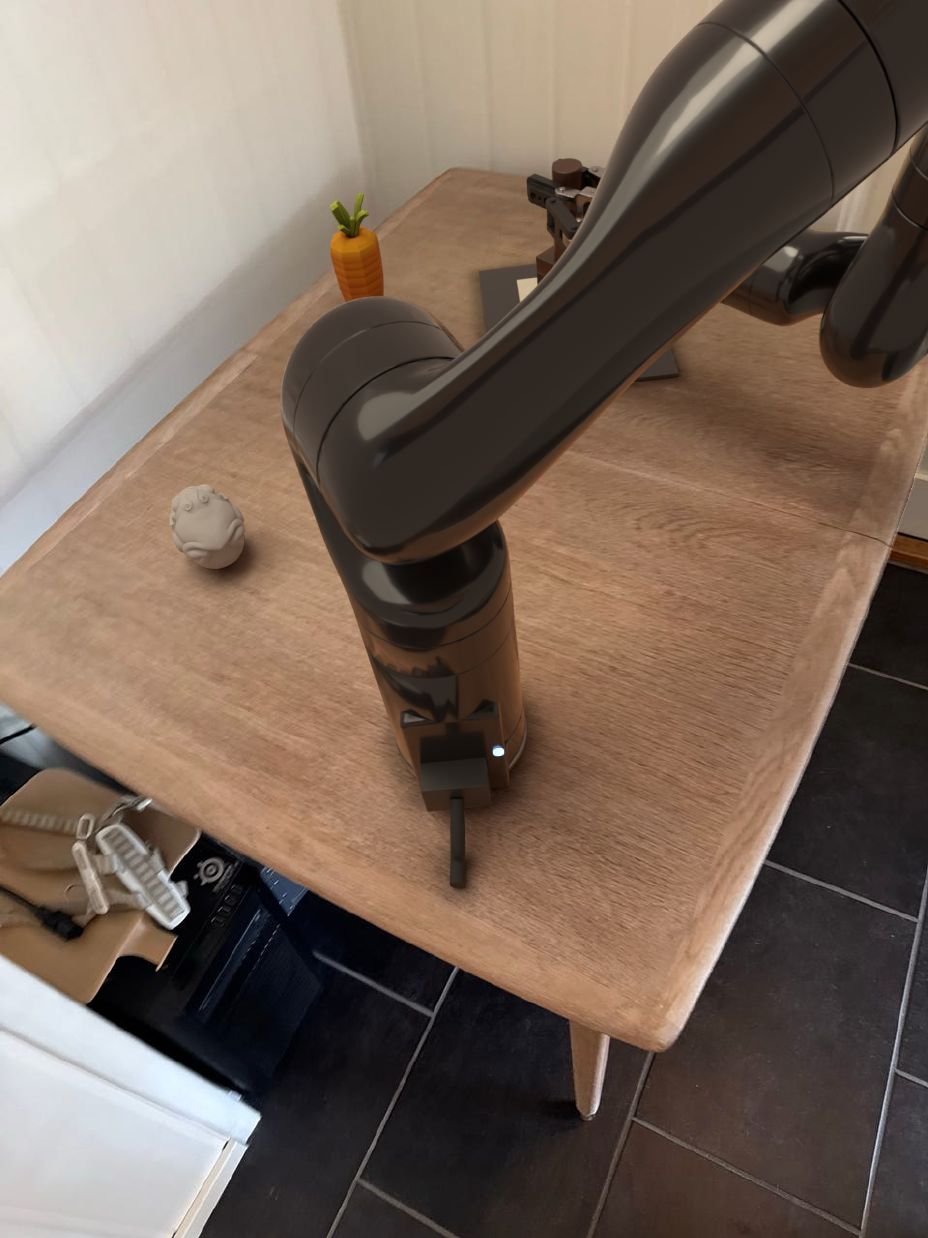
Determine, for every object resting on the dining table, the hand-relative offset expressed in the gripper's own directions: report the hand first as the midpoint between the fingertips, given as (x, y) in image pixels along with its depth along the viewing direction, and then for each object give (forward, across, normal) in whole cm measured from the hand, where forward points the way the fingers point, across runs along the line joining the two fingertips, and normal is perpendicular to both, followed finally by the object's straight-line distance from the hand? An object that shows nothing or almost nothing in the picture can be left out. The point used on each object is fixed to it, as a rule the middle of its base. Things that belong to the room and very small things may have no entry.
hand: (542, 178), depth 78 cm
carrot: (+15, +12, +16) cm, 25 cm away
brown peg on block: (-3, 0, +10) cm, 10 cm away
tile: (0, -3, +16) cm, 17 cm away
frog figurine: (0, +41, +16) cm, 44 cm away
